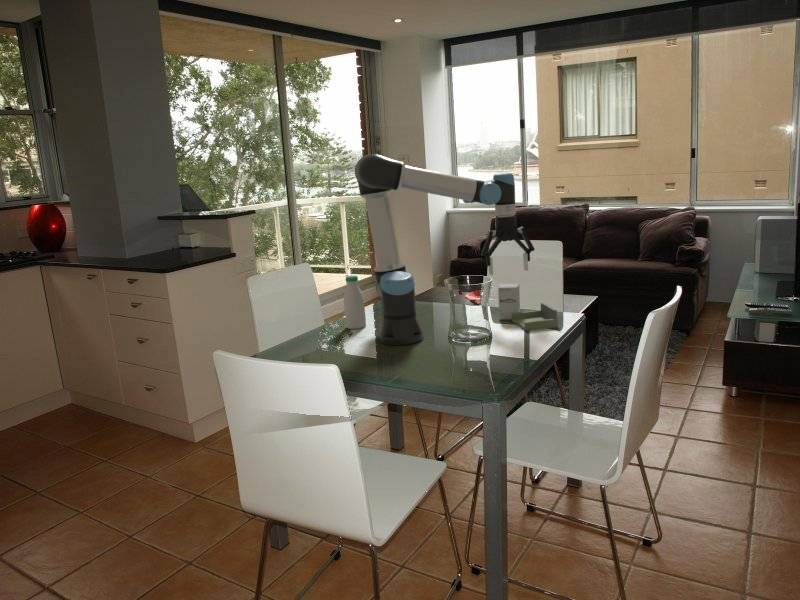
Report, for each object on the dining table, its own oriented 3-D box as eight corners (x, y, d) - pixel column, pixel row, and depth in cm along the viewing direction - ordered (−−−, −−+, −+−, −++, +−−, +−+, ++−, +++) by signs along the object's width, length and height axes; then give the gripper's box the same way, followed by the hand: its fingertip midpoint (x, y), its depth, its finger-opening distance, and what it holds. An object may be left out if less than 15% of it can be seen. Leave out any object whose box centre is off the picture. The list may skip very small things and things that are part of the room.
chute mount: (525, 331, 228) (524, 314, 227) (511, 321, 243) (511, 305, 241) (558, 327, 230) (557, 310, 228) (542, 317, 244) (542, 302, 243)
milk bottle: (365, 328, 248) (360, 277, 244) (345, 330, 248) (340, 279, 244) (366, 323, 256) (362, 273, 251) (347, 325, 256) (342, 275, 252)
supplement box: (498, 320, 246) (497, 287, 243) (501, 315, 253) (500, 283, 250) (518, 320, 243) (517, 287, 241) (520, 315, 250) (519, 283, 248)
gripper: (475, 219, 234) (479, 277, 239) (541, 213, 238) (544, 270, 242) (470, 218, 242) (473, 274, 246) (534, 211, 245) (536, 267, 250)
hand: (508, 272), depth 244 cm, fingers open, 13 cm apart
